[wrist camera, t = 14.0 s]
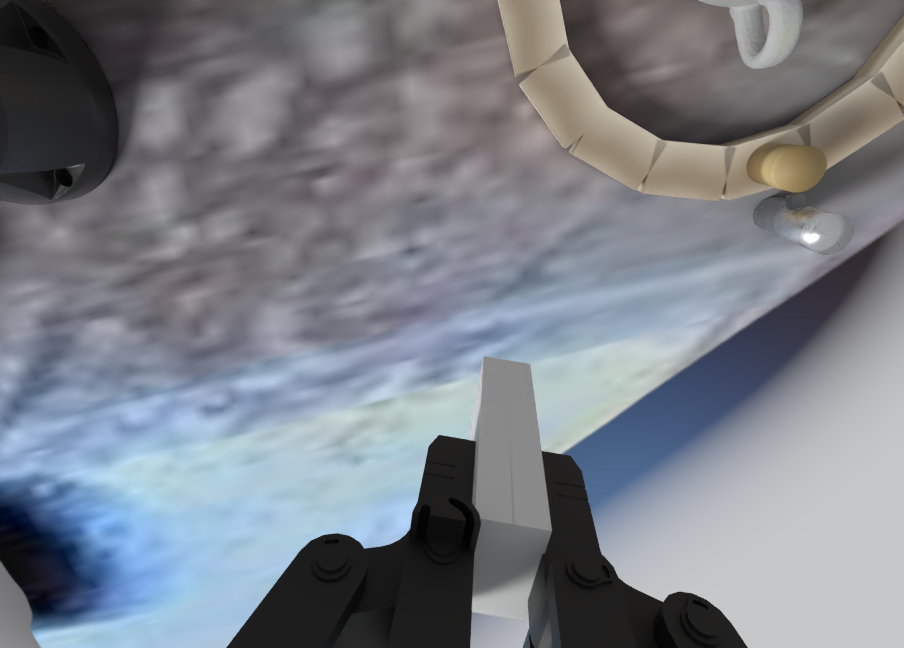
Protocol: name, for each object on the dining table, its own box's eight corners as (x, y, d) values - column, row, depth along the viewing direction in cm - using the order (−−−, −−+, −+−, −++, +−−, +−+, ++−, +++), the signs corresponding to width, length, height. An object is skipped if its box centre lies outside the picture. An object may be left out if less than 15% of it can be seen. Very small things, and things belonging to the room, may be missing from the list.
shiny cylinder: (745, 226, 35) (799, 250, 29) (764, 183, 34) (824, 199, 28) (780, 232, 35) (841, 257, 29) (799, 189, 34) (868, 206, 28)
